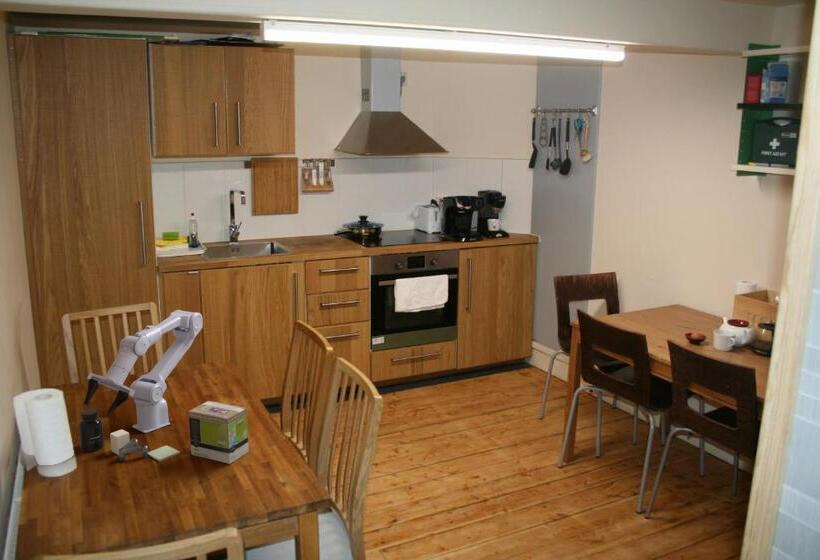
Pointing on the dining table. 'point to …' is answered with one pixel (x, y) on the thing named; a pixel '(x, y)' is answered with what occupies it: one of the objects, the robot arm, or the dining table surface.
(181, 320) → the robot arm
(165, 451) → the pad
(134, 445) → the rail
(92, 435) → the supplement bottle
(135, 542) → the dining table surface
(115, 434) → the block
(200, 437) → the tea box
